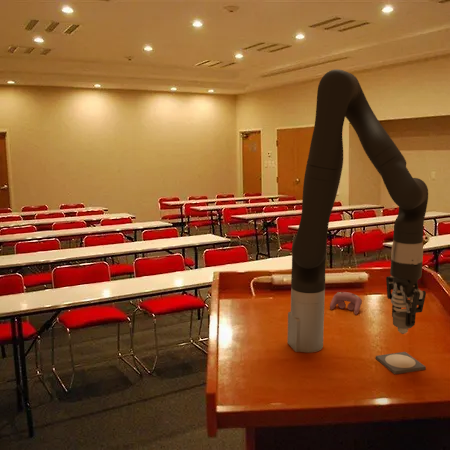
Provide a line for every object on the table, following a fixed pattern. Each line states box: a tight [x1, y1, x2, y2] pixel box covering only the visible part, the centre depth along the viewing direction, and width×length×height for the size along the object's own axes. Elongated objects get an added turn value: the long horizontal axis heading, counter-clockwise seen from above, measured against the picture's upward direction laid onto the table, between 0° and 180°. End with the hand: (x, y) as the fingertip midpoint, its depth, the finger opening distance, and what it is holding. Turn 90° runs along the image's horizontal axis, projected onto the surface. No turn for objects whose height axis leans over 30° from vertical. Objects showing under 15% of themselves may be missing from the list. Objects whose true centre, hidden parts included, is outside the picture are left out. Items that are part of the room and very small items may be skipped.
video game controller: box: [329, 291, 363, 315], centre depth 178 cm, size 10×5×7 cm, turn 58°
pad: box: [375, 351, 427, 375], centre depth 140 cm, size 9×9×1 cm
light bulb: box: [392, 290, 414, 335], centre depth 137 cm, size 6×6×12 cm
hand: (403, 321), depth 138 cm, fingers closed on light bulb, 5 cm apart
